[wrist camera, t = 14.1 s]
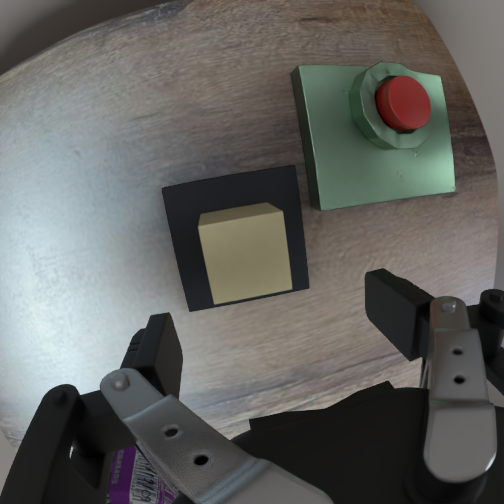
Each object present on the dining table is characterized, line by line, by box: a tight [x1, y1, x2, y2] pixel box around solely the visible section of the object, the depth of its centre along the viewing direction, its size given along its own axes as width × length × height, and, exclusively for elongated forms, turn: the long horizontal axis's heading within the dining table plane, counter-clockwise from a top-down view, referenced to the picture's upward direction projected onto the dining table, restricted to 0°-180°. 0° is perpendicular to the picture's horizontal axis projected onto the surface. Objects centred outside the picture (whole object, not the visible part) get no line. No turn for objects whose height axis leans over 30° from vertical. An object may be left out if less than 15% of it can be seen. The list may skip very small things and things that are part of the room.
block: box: [198, 202, 292, 304], centre depth 20 cm, size 5×5×5 cm
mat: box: [162, 165, 309, 312], centre depth 23 cm, size 10×10×1 cm
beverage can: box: [106, 446, 176, 504], centre depth 22 cm, size 7×7×12 cm
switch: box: [376, 76, 431, 130], centre depth 18 cm, size 4×4×2 cm
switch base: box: [291, 61, 455, 211], centre depth 21 cm, size 14×11×4 cm
